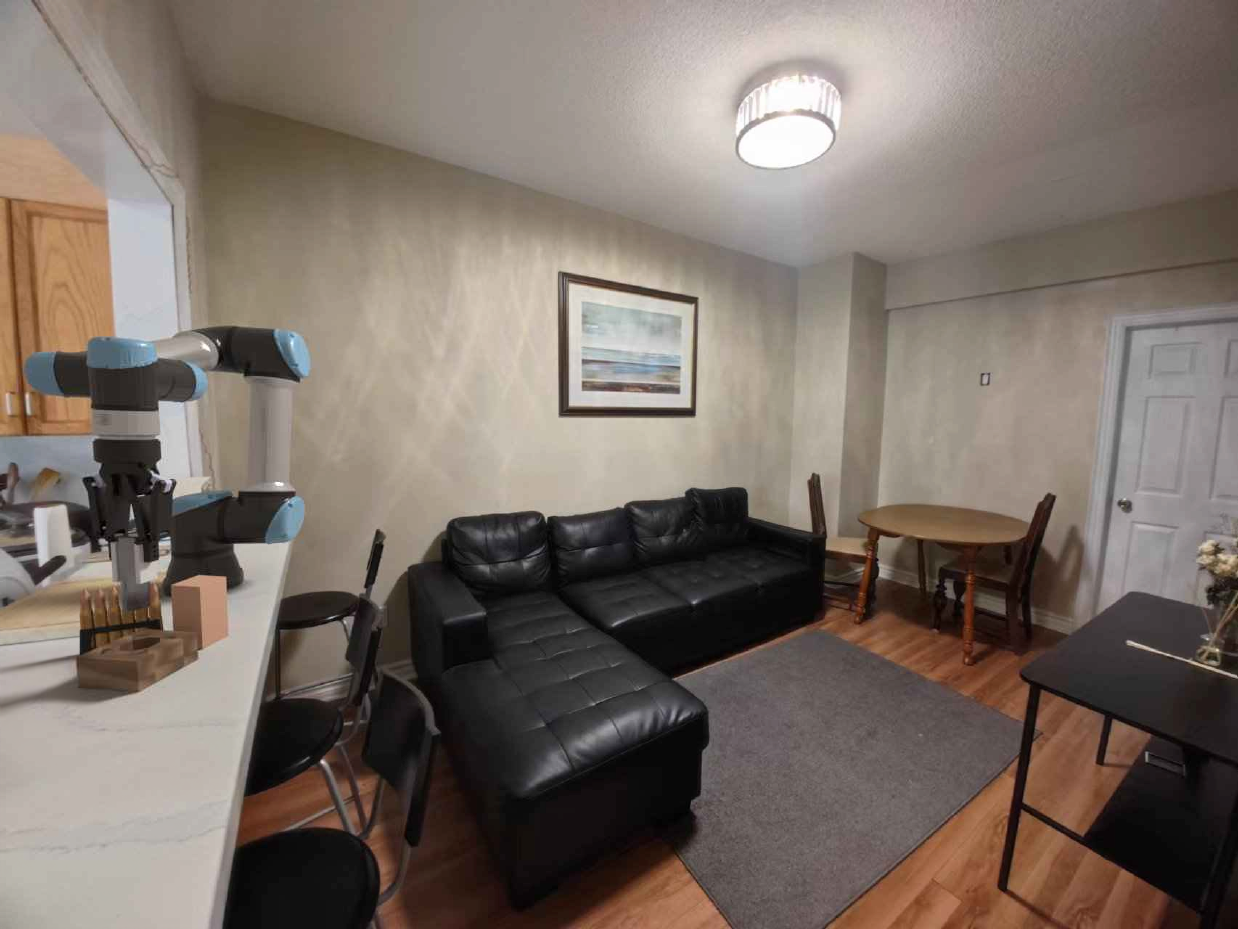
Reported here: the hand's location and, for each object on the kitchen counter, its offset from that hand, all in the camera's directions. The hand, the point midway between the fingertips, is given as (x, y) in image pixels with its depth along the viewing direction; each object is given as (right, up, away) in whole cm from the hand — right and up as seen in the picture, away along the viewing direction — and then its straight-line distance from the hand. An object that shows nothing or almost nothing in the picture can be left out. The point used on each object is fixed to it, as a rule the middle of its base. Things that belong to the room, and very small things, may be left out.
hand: (135, 579), depth 77 cm
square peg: (0, -15, +13) cm, 20 cm away
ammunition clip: (-11, -15, +9) cm, 21 cm away
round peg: (0, -5, 0) cm, 5 cm away
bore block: (-1, -16, +2) cm, 16 cm away
